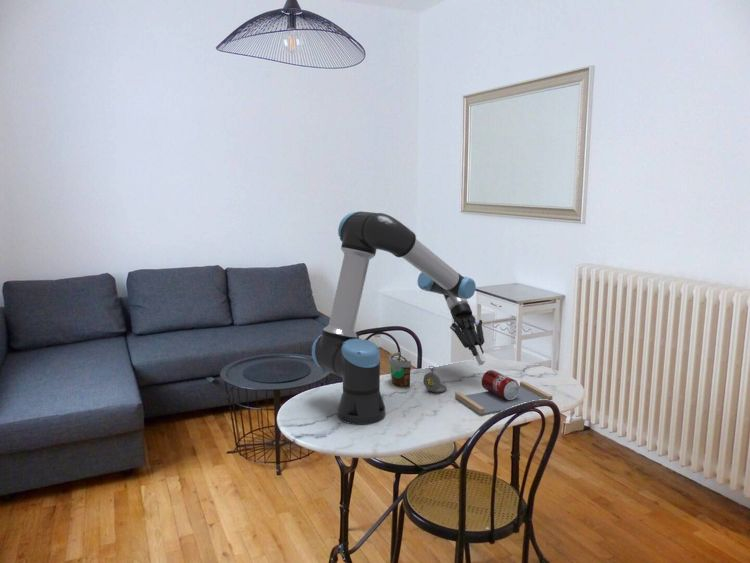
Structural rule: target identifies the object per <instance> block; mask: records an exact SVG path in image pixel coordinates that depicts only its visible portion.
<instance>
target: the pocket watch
mask: <svg viewBox="0 0 750 563" xmlns="http://www.w3.org/2000/svg"><path fill="white" fill-rule="evenodd" d="M428 369H429V370H430V371H429V372H427V373H425V374H424V376H423V379H422V380H423V382H422V383H423V385H424V386H425V388H426V389H427V390H428V391H429V392H431V393H439V394H440V393H443V392H445V391H447V386H445V385H444V384H442V381H441V378H440V376H439V375H438V374H437V373H435V372H434V371H436V367H435V366H433V365H429V366H428Z"/></svg>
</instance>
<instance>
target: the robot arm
mask: <svg viewBox="0 0 750 563" xmlns="http://www.w3.org/2000/svg"><path fill="white" fill-rule="evenodd" d="M337 228H338V229H337V233H338V236H339V240H340V241H341V247H340V249H341V251H342V253H343V259H342V263H341V268H340V272H339V277H338V282H337V286H336V290H335V294H334V295H335V296H334V299H333V304H332V307H331V308H332V309H331V312H330V316H329V317H330V318H329V322H328V325H327V326H325V327H324V328H322V333H321V334H320V335H319V336H317V338H316V339H315V340H314V342H313V343H312V346H311V357H312V360H313V361H314V363H315V365H316V366H318V367H319V368H320V369H322V370H324V371H325V372H327V373H331V374H333V375H336V376H338V377H340V378H342V393H341V397H340V398H339V403H338V407H337V417H338V419H339V418H340V419H339V420H341V421H342V420H343V422H344V421H346V422H345V423H347V422H349V423H348V424H352V423H354V425H368V424H369V423H370V424H373V423H377V422H380V421H381V420H383V419H384V418H385V417H386V406H385V403H384V399H383V397H382V393H381V390H380V389H381V388H380V384H381V383H380V382H381V380H380V379H381V368H380V367H381V355H380V348H379V346H378V345H377V344H376V343H375V342H373V341H371V340H369V339H362V338H358V335H357V333H356V332H355V327H356V323H357V318H358V313H359V309H360V304H361V299H362V296H363V290H364V286H365V282H366V277H367V272H368V268H369V264H370V260H371V259H373V258H374V257H375V256H376V254H377V253H376V252H377V250H380V251H384V252H388V253H390V254H392V255H393V256H395V257H397V258H402V259H404V260H405V261H407V263H409V264H410V265H411V266H413V267H414V268H416V269H417V270H418V271H420V273H419V274H418V278H417V286H418V288H419V289H421V290H422V291H425V292H430V293H435V294H439V295H443V298H444V299H445V302H446V305H447V307H448V310H449V311H450V315H451V318H452V319H453V322H452V324H451V325H450V326H449V328H450V330H451V331H452V332H454V333H455V335H456V337H457V338H458V340H459V341H460V343H461V344H462V346H463V347H464V348H465V349H468V350H469V351H471V355H472V356H473V357H475V359H476V362H477V364H478V366H482V365H484V364H485V362H486V359H485V356H484V353H485V352H484V350H483V347H482V346H483V344H484V343H485V336H484V331H483V326H482V325H483V320H482V319H476V317H475V316H474V315H473V311H472V308H471V306H470V304H469V301H468V299H471V298H472V297H473V296H474V295H475V292H476V289H477V288H476V286H477V285H476V282H475V280H474V279H472V278H471V277H469V276H463V275H462V274H460V273H459V272H458V271H456V270H455V269H454V268H453V267H452V266H450V265H449V264H448V263H446V262H445V261H444V260H443V259H442V258H440V257H439V256H438V255H437V254H435V253H434V252H433V251H431V249H429V248H428V247H427V246H426V245H425V244H423V243H422V242H421V241H419V240H418V239H417V235H416V233H415V232H414V231H413V230H411V229H410V228H409V227H407V225H404V224H403V223H402V222H401V221H400V220H398V219H396V218H395V217H393V216H391V215H389V214H387V213H384V212H372V211H371V212H369V211H353V212H349V213H348V214H346V215H345V216H344V217H343V218H342V219H341V221H340V223H339V224H338V227H337Z"/></svg>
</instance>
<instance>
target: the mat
mask: <svg viewBox="0 0 750 563" xmlns="http://www.w3.org/2000/svg"><path fill="white" fill-rule="evenodd" d="M454 399H455V400H457V401H458V402H459V403H461V404H462V405H464V406H465V407H466V408H468V409H469V410H471V411H472V412H473V413H475V414H476V415H478V416H479V417H480V416H482V417H483V416H486V414H487V415H492V414H496V413H501V412H500V411H502V410H505V409H507V408H510V407H512V406H515V405H518V404H521V403H524V402H529V401H532V400H539V399H548V400H552V401H553V395H551V394H549V393H548V392H545V391H543V390H542V389H541V388H538V387H536V386H535V385H532V384H530V383H528V382H527V381H524V380H521V381H519V393H518V395H517V396H516V397H515V398H514V399H512V400H505V399H503V398H501V397H499V396H497V395H495V394H493V393H491V392H489V391H487V390H486V391H481V392H476V393H469V394H463V393H462V392H460V391H456V392H454ZM491 413H492V414H491Z"/></svg>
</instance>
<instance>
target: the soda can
mask: <svg viewBox="0 0 750 563" xmlns="http://www.w3.org/2000/svg"><path fill="white" fill-rule="evenodd" d="M481 386H482V388H483V389H484V390H485V391H486V392H487V391H489V392H491V393H493V394H495V395H497V396H499V397H501V398H503V399H505V400H512V399H514V398H515V397H516V396H517V395H518V393H519V386H520V383H518V381H517V380H515V379H513V378H512V377H509V376H508V375H505V374H503V373H500V372H498V371H496V370H493V369H490V370H487V371H486V372H484V373H483V376H482V378H481Z"/></svg>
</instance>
